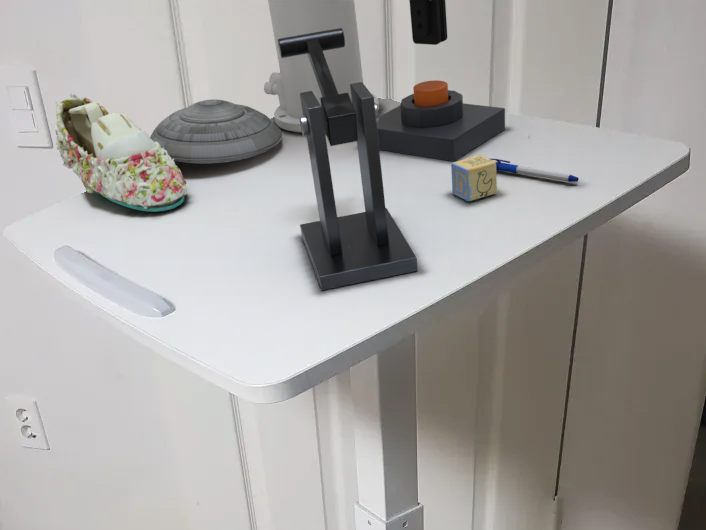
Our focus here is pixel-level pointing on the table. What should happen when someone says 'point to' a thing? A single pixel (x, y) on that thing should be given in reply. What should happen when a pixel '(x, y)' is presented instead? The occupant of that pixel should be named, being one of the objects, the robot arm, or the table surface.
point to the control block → (438, 127)
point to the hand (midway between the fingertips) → (430, 41)
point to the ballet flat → (116, 157)
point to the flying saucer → (216, 133)
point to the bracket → (356, 229)
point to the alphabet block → (474, 178)
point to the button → (430, 93)
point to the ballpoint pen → (533, 171)
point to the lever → (325, 82)
